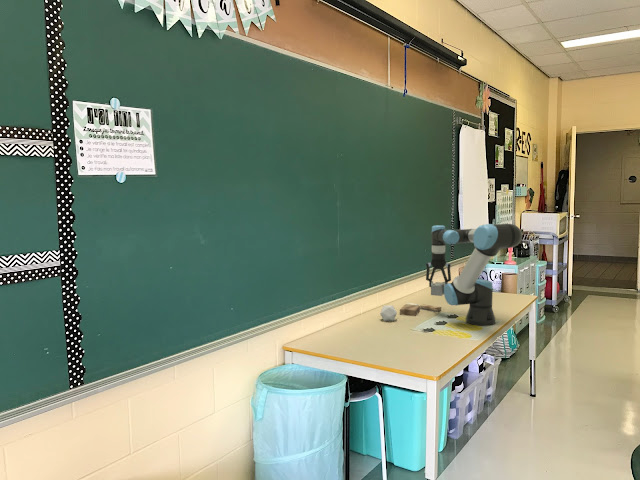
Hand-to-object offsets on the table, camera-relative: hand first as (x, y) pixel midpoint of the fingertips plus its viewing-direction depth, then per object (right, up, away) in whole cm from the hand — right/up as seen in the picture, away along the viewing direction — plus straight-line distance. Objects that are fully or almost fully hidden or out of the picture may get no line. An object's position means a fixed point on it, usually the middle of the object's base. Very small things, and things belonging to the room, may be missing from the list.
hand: (438, 293), depth 285 cm
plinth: (-15, -12, +8) cm, 21 cm away
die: (-30, -14, -9) cm, 34 cm away
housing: (0, -1, 0) cm, 1 cm away
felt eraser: (-1, -12, +14) cm, 18 cm away
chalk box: (-12, -12, +17) cm, 24 cm away
